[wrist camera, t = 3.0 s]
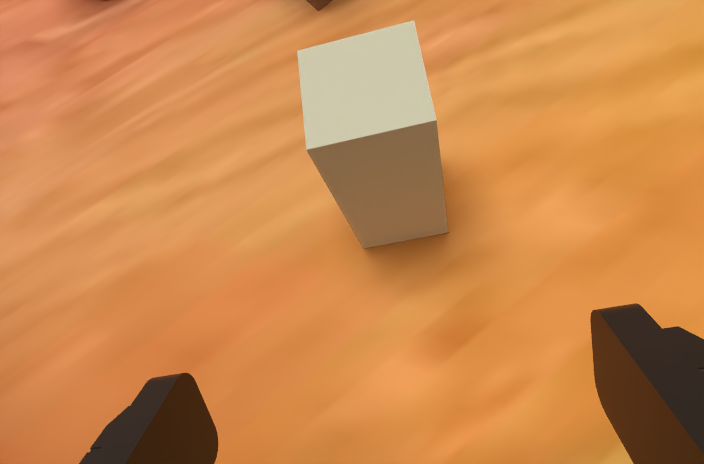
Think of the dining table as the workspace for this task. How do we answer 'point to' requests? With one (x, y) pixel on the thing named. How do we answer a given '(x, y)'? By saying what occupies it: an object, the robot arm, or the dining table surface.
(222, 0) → the dining table surface
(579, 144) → the dining table surface
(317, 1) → the tower lower
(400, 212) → the sage block
